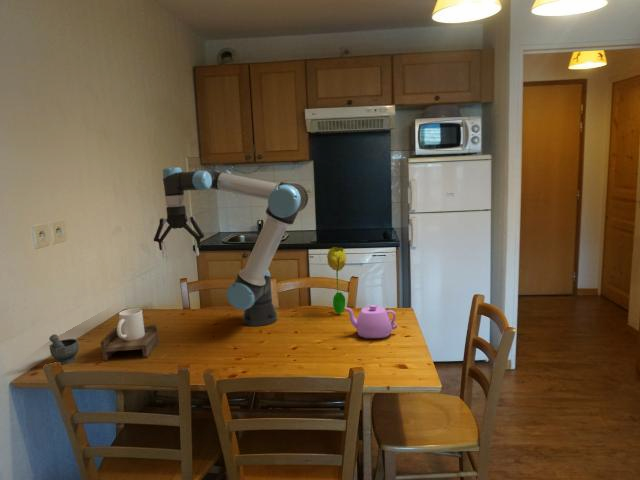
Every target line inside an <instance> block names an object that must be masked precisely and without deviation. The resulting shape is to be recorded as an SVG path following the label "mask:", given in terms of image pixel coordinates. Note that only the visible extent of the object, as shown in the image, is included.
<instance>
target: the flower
mask: <svg viewBox="0 0 640 480" xmlns="http://www.w3.org/2000/svg"><path fill="white" fill-rule="evenodd" d="M346 255H347V254H346V249H344V248H343V247H338V246H333V247H331V248H328V250H327V255H326V256H327V257H326V258H327V264H328V267H329V268H330V269H332V270H333V271H336V275H335V276H336V288H337V289H336V291H337V292H336V293H335V294H334V295H333V298H332V306H333V310H334V312H335V313H337V314H339V315H341V314H342V313H344V311H345V308H344V307H346V297H345V295H344V294H343V293H342V292H341V291H340V292H339V279H338V278H339V274H338V273H339V271H342V270H343V268H344V267H345V266H346V263H347V262H346V261H347V256H346Z"/></svg>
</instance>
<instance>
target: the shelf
mask: <svg viewBox="0 0 640 480" xmlns="http://www.w3.org/2000/svg"><path fill="white" fill-rule="evenodd" d="M144 331H145V335H144V337H143V338H141V339H139V340H135V341H124V340H123V339H122V338H120V337H119V336H118V333H117V327H115V328H114V329H112V330H111V331H110V332H109V333H108V334H107V335H106V336H105V337H104V338H103V339H102V340H101V341H100V347H101V354H102V361H103V362H108V361H109V360H110V358H112V357H113V356H114V355H115V353H116V352H118V351H134V350H141V351H142V358H143V357H148V358H149V356H150V355H151V354H152V352H153V351H154V350H155V349H156V347H157V346H158V345H159V342H160V341H159V340H160V339H159V332H158V325H157V324H150V325H149V324H148V325H145V324H144ZM153 349H154V350H153ZM152 350H153V351H152ZM150 353H151V354H150ZM149 354H150V355H149Z"/></svg>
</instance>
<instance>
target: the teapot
mask: <svg viewBox="0 0 640 480" xmlns="http://www.w3.org/2000/svg"><path fill="white" fill-rule="evenodd" d="M344 310H346V311H347V312H348V315H349V319H350V323H351V325H352V326H353V327H354V328H355V329H356V333H357V335H359V337H360V338H361V337H362V338H365V339H384V338H387V337H389V336H390V334H391V333H392V331H393V330H396V329H398V325H397V323H395V321H396V317H397V315H396V312H395V311H394V310H392V309H388V310H387V309H386V308H385V307H383V306H378V305H376V304H370V305H369V306H366V307H363V308H361V309H360V312H359V314H358V316H357V318H356V317H355V315H354V312H353V309H352V308H350V307H347V306H345V307H344ZM389 313H390V314H392V315H393V316H392V317H393V318H392V320H391V317H390V315H389Z"/></svg>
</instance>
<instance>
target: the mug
mask: <svg viewBox="0 0 640 480" xmlns="http://www.w3.org/2000/svg"><path fill="white" fill-rule="evenodd" d="M118 318H119V321H118V323H117V327H116V328H117V333H118V336H119V337H120V338H122V339H123V340H124V341H135V340H139V339H141V338H143V337H144V335H145V331H144V326H145V323H144V315H143V309H141V308H131V309H129V308H128V309H124V310H122V311H120V312H119V313H118Z"/></svg>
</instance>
